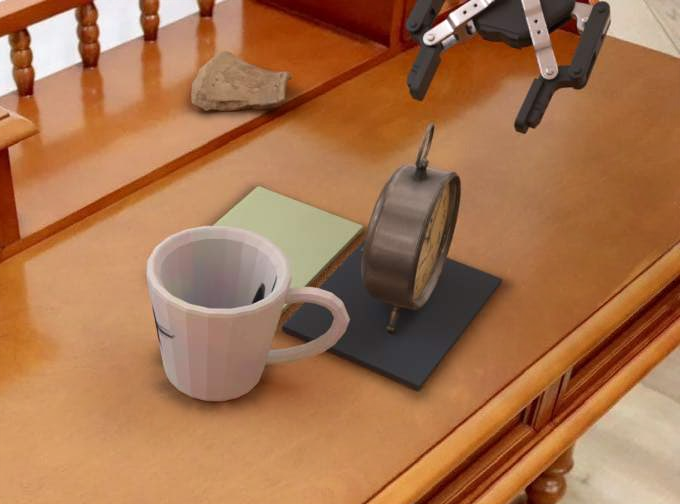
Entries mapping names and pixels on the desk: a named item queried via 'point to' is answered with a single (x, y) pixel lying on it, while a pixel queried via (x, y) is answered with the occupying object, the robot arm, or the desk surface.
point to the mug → (227, 309)
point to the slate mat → (411, 327)
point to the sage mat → (294, 232)
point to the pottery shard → (237, 85)
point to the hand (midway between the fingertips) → (466, 113)
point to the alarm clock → (410, 234)
